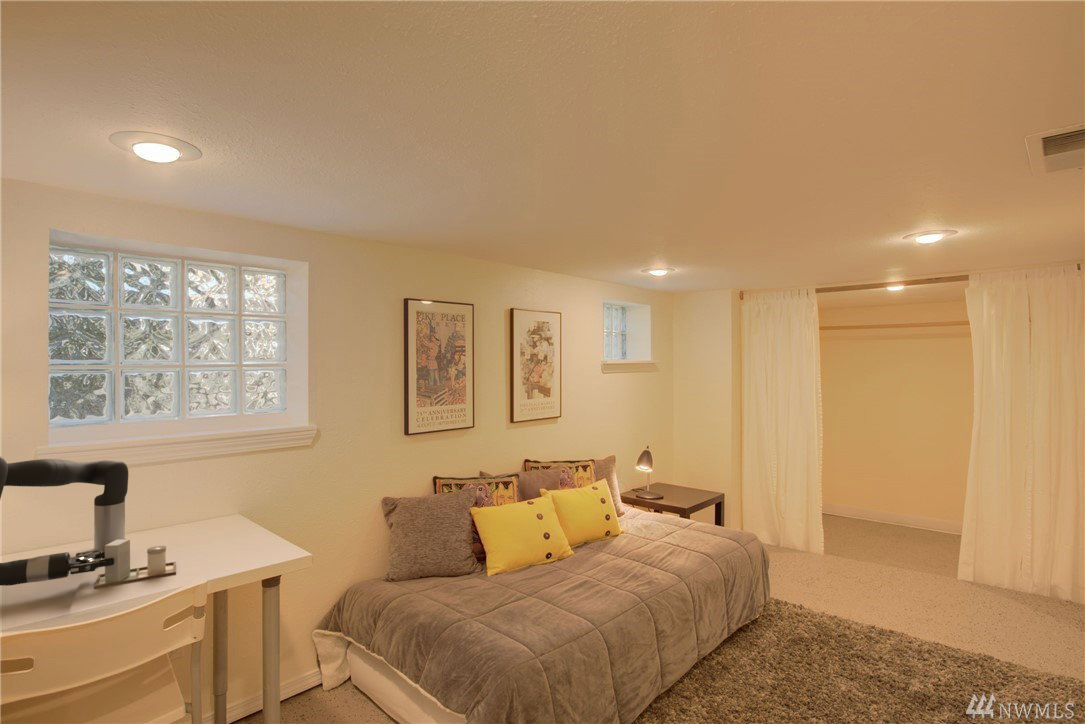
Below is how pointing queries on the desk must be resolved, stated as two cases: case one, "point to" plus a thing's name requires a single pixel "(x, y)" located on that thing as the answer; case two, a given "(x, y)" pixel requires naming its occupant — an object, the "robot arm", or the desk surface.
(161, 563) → the cream jar
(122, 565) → the skincare box
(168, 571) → the organizer
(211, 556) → the desk surface
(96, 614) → the desk surface
